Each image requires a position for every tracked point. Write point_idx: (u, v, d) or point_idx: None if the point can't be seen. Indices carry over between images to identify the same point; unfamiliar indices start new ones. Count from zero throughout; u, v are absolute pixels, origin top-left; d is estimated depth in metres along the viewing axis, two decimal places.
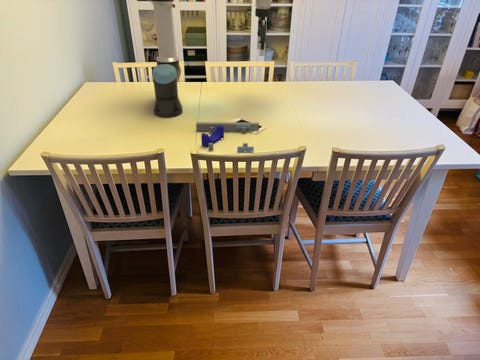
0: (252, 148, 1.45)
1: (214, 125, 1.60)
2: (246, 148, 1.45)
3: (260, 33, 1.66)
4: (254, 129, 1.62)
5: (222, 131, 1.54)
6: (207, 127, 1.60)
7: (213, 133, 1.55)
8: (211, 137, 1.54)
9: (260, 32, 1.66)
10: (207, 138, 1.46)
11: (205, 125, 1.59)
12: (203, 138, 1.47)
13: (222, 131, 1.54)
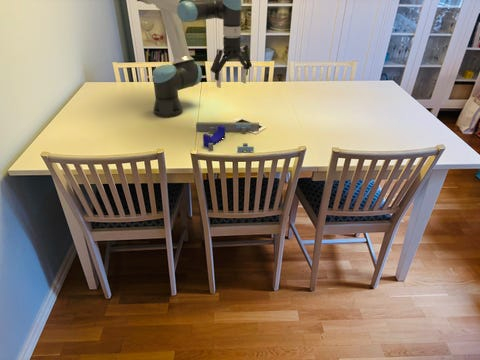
0: (252, 148, 1.45)
1: (214, 125, 1.60)
2: (246, 148, 1.45)
3: (219, 62, 1.49)
4: (254, 129, 1.62)
5: (223, 131, 1.53)
6: (207, 127, 1.60)
7: (214, 134, 1.54)
8: (212, 138, 1.53)
9: (220, 61, 1.49)
10: (209, 139, 1.46)
11: (205, 125, 1.59)
12: (205, 139, 1.47)
13: (224, 132, 1.54)
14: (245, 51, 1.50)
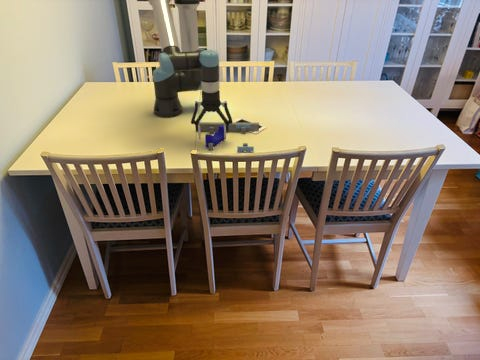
0: (252, 148, 1.45)
1: (214, 125, 1.60)
2: (246, 148, 1.45)
3: None
4: (254, 129, 1.62)
5: None
6: (207, 127, 1.60)
7: (215, 134, 1.54)
8: (214, 138, 1.53)
9: None
10: (211, 139, 1.46)
11: (205, 125, 1.59)
12: (207, 139, 1.46)
13: None
14: (225, 107, 1.43)
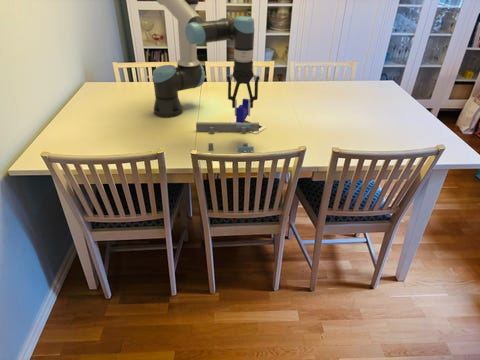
0: (252, 148, 1.45)
1: (214, 125, 1.60)
2: (246, 148, 1.45)
3: None
4: (254, 129, 1.62)
5: None
6: (207, 127, 1.60)
7: (240, 108, 1.47)
8: None
9: (235, 87, 1.41)
10: (243, 112, 1.39)
11: (205, 125, 1.59)
12: (239, 113, 1.39)
13: None
14: (257, 81, 1.37)
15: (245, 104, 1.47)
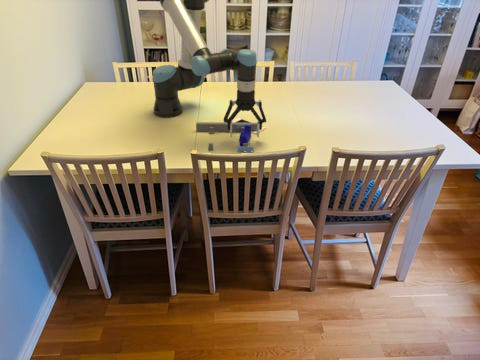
0: (252, 148, 1.45)
1: (214, 125, 1.60)
2: (246, 148, 1.45)
3: None
4: (254, 129, 1.62)
5: (250, 130, 1.56)
6: (207, 127, 1.60)
7: (242, 133, 1.55)
8: None
9: (233, 112, 1.47)
10: (246, 139, 1.47)
11: (205, 125, 1.59)
12: (242, 140, 1.47)
13: None
14: (260, 106, 1.44)
15: (247, 130, 1.55)
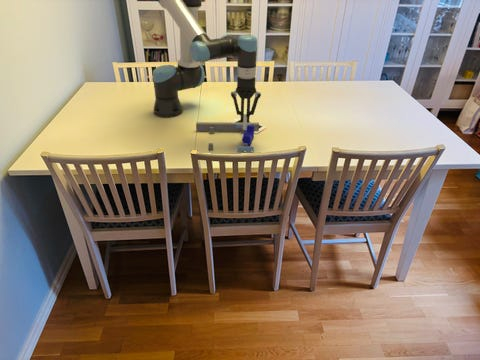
0: (252, 148, 1.45)
1: (214, 125, 1.60)
2: (246, 148, 1.45)
3: None
4: (254, 129, 1.62)
5: (253, 130, 1.55)
6: (207, 127, 1.60)
7: (245, 134, 1.55)
8: None
9: None
10: (250, 139, 1.47)
11: (205, 125, 1.59)
12: (246, 140, 1.47)
13: (253, 130, 1.56)
14: (257, 97, 1.42)
15: (250, 130, 1.55)
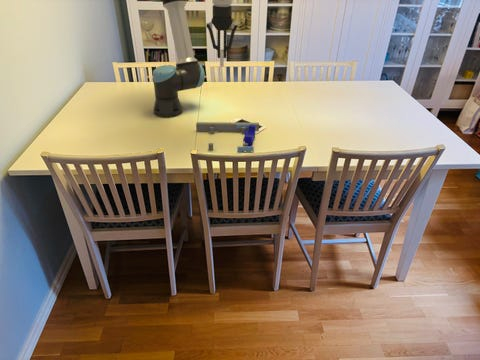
0: (252, 148, 1.45)
1: (214, 125, 1.60)
2: (246, 148, 1.45)
3: None
4: None
5: None
6: (207, 127, 1.60)
7: (246, 134, 1.55)
8: None
9: None
10: (251, 139, 1.47)
11: (205, 125, 1.59)
12: (247, 140, 1.47)
13: None
14: (234, 29, 1.36)
15: (251, 130, 1.55)
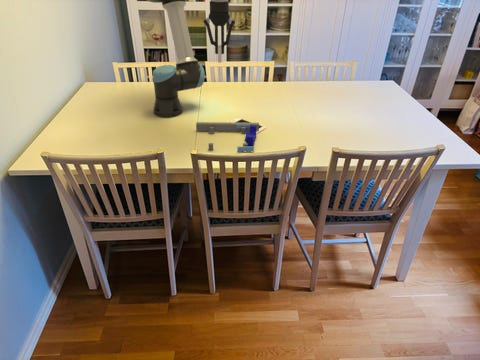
0: (252, 148, 1.45)
1: (214, 125, 1.60)
2: (246, 148, 1.45)
3: None
4: None
5: (256, 130, 1.55)
6: (207, 127, 1.60)
7: (247, 134, 1.55)
8: None
9: None
10: (253, 139, 1.47)
11: (205, 125, 1.59)
12: (249, 140, 1.46)
13: (256, 130, 1.56)
14: (231, 25, 1.36)
15: (252, 130, 1.55)
